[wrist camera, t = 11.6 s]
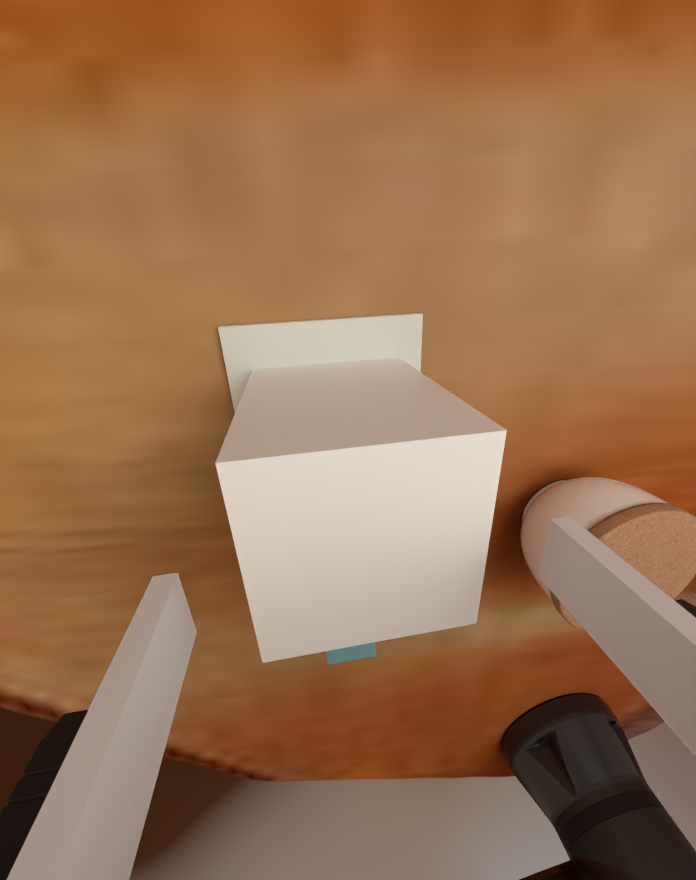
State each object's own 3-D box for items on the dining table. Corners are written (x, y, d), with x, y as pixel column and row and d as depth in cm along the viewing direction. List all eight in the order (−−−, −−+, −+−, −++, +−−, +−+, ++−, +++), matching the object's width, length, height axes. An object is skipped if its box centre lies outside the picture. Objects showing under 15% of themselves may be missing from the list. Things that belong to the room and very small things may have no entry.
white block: (396, 479, 26) (476, 623, 15) (273, 495, 25) (262, 663, 14) (398, 357, 22) (506, 430, 11) (252, 369, 21) (215, 463, 10)
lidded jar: (486, 487, 28) (571, 575, 20) (609, 434, 28) (749, 500, 19) (507, 573, 33) (584, 674, 24) (613, 529, 33) (728, 615, 24)
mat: (412, 500, 27) (415, 505, 27) (257, 521, 26) (257, 526, 25) (419, 312, 22) (422, 313, 21) (219, 325, 20) (217, 327, 20)
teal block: (366, 614, 32) (376, 656, 28) (322, 621, 32) (327, 664, 28) (365, 582, 30) (375, 622, 27) (319, 589, 30) (324, 631, 26)
